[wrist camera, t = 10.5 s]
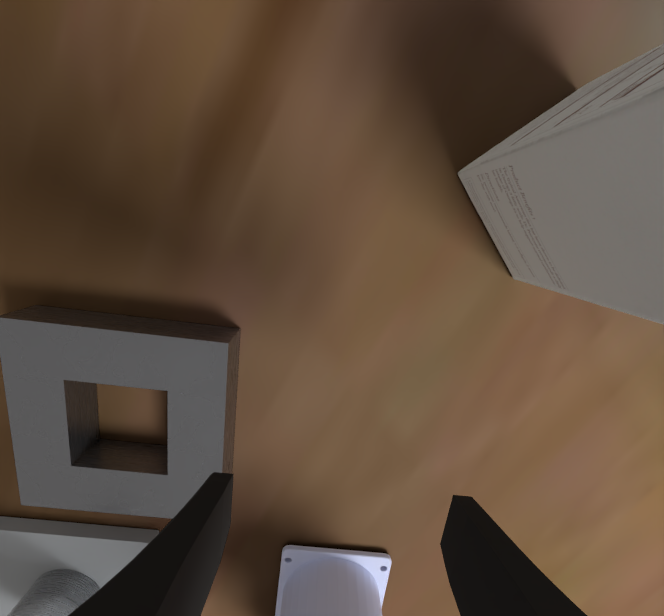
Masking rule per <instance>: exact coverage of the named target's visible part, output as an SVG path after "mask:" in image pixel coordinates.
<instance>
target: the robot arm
mask: <svg viewBox="0 0 664 616" xmlns="http://www.w3.org/2000/svg"><path fill="white" fill-rule="evenodd" d="M232 488H233V474H230V473H219V472H214V473H212V474H211V475H210V476H209V477H208V479H207V480H206V481H205V482H204V484H203V485H202V486H201V487H200V488H199V490H198V491H197V492H196V493H195V494H194V496H193V497H192V498H191V499H190V500H189V501H188V502H187V504H186V505H185V506H184V507H183V508H182V509H181V510H180V511H179V512H178V514H177V515H176V516H175V517H174V518H173V519H172V520H171V521H170V522H169V523H168V524H167V525H166V527H165V528H164V529H163V530H162V531H161V532H160V533H159V534H158V535H157V536H156V537H155V538H154V539H153V540H152V541H151V542H150V543H149V544H148V545H147V546H146V547H145V548H144V549H143V550H142V551H141V552H140V553H139V554H138V555H137V556H136V557H135V558H134V559H132V560H131V561H130V562H129V563H128V564H127V565H126V566H125V567H124V568H123V569H122V570H121V571H120V572H118V573H117V574H116V575H115V576H114V577H113V578H112V579H111V580H110V581H108V582H107V583H106V584H105V585H104V586H103V587H102V588H100V589H99V590H98V591H97V592H96V593H95V594H93V595H92V596H91V597H90V598H89V599H87V600H86V601H85V602H84V603H83V604H81V605H80V606H79V607H78V608H76V609H75V610H74V611H73V612H72V613H70V614H69V615H68V616H200V615H201V613H202V610H203V607H204V605H205V602H206V599H207V597H208V594H209V591H210V589H211V586H212V583H213V580H214V578H215V575H216V572H217V570H218V567H219V564H220V561H221V558H222V554H223V550H224V547H225V543H226V539H227V536H228V532H229V528H230V522H231V505H232ZM440 545H441V549H442V554H443V558H444V563H445V567H446V571H447V575H448V579H449V583H450V586H451V589H452V592H453V595H454V597H455V600H456V603H457V606H458V609H459V612H460V615H461V616H587V615H586V614H585V613H584V612H583V611H581V610H580V609H579V608H578V607H577V606H576V605H575V604H574V603H573V602H572V601H571V600H570V599H569V598H568V597H567V596H566V595H565V594H564V593H563V592H562V591H561V590H559V589H558V588H557V587H556V586H555V585H554V584H553V583H552V582H551V581H550V580H549V579H548V578H547V577H546V576H545V575H544V574H543V573H542V572H541V571H540V570H539V569H538V568H537V567H536V566H535V565H534V564H533V562H532V561H531V560H530V559H529V558H528V557H527V556H526V555H525V554H524V553H523V552H522V551H521V550H520V549H519V548H518V547H517V546H516V545H515V543H514V542H513V541H512V540H511V539H510V538H509V537H508V536H507V535H506V534H505V533H504V532H503V530H502V529H501V528H500V527H499V526H498V525H497V524H496V523H495V522H494V521H493V519H492V518H491V517H490V516H489V515H488V514H487V513H486V512H485V511H484V510H483V509H482V507H481V506H480V505H479V504H478V503H477V502H476V501H475V500H474V499H473V498H472V497H468V496H458V495H453V498H452V502H451V505H450V509H449V513H448V517H447V520H446V524H445V528H444V532H443V536H442V539H441V543H440ZM390 567H391V557H390V555H388V554H386V553H376V552H365V551H354V550H342V549H331V548H320V547H308V546H297V545H286V546H285V547H283V550H282V557H281V566H280V575H279V584H278V593H277V602H276V611H275V616H382V610H381V608H382V603H383V599H384V594H385V590H386V585H387V581H388V576H389V572H390Z"/></svg>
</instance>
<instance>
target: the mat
mask: <svg viewBox="0 0 664 616" xmlns="http://www.w3.org/2000/svg"><path fill="white" fill-rule="evenodd" d="M158 534H159V530H151V529H140V528H129V527H117V526H106V525H95V524H84V523H72V522H61V521H50V520H38V519H27V518H16V517H4V516H0V616H7V615H8V614H9V613H10V612H11V610H12V609H13V608H14V607H15V605H16V604H17V603H18V602H19V601H20V599H21V598H22V597H23V596H24V594H25V593H26V592H27V591H28V590H29V588H30V587H31V586H32V585H33V583H34V582H35V581H36V580H37V579H38V578H39V577H40V576H41V575H42V574H44V573H46V572H48V571H51V570H57V569H67V570H73V571H77V572H80V573H82V574H84V575H86V576H88V577H90V578H91V579H92V580H94V581H95V582H96V583H97V584H98V586H99V587H100V588H102V587H103V586H104V585H105V584H106V583H107V582H108V581H110V580H111V579H112V578H113V577H114V576H115V575H116V574H117V573H118V572H120V571H121V570H122V569H123V568H124V567H125V566H126V565H127V564H128V563H129V562H130V561H131V560H132V559H134V558H135V557H136V556H137V555H138V554H139V553H140V552H141V551H142V550H143V549H144V548H145V547H146V546H147V545H148V544H149V543H150V542H151V541H152V540H153V539H154V538H155V537H156V536H157V535H158Z"/></svg>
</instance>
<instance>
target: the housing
mask: <svg viewBox="0 0 664 616" xmlns="http://www.w3.org/2000/svg"><path fill="white" fill-rule="evenodd" d="M240 329H241V328H232V327H223V326H215V325H206V324H197V323H188V322H180V321H171V320H162V319H153V318H145V317H136V316H127V315H119V314H110V313H101V312H92V311H84V310H75V309H66V308H57V307H49V306H40V305H35V306H31V307H28V308H24V309H21V310H17V311H14V312H11V313H7V314H4V315H0V357H1V364H2V372H3V379H4V386H5V393H6V400H7V407H8V415H9V422H10V429H11V436H12V443H13V450H14V458H15V465H16V472H17V479H18V486H19V493H20V500H21V505H26V506H37V507H48V508H59V509H71V510H82V511H93V512H104V513H115V514H126V515H137V516H148V517H159V518H171V519H173V518H174V517H175V516H176V515H177V514H178V512H179V511H180V510H181V509H182V508H183V507H184V506H185V505H186V504H187V502H188V501H189V500H190V499H191V498H192V497H193V496H194V494H195V493H196V492H197V491H198V490H199V488H200V487H201V486H202V485H203V484H204V482H205V481H206V480H207V479H208V477H209V476H210V475H211V474H212V473H214V472H219V473H230V474H232V468H233V451H234V433H235V416H236V399H237V381H238V364H239V347H240ZM96 383H98V384H108V385H117V386H127V387H136V388H145V389H155V390H164V391H168V446H166V445H156V444H146V443H136V442H126V441H116V440H106V439H100V437H99V421H98V405H97V389H96Z"/></svg>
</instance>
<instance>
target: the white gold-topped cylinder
mask: <svg viewBox="0 0 664 616" xmlns="http://www.w3.org/2000/svg"><path fill="white" fill-rule="evenodd" d="M99 589H100V587H99V586H98V584H97V583H96V582H95V581H94V580H92V579H91V578H90V577H88V576H86V575H84V574H82V573H80V572H77V571H73V570H67V569H57V570H51V571H48V572H46V573H44V574H42V575H41V576H40V577H39V578H38V579H37V580H36V581H35V582H34V583H33V585H32V586H31V587H30V588H29V590H28V591H27V592H26V593H25V594H24V596H23V597H22V598H21V599H20V601H19V602H18V603H17V604H16V605H15V607H14V608H13V609H12V610H11V612H10V613H9V614H8V615H7V616H68V615H69V614H70V613H72V612H73V611H74V610H75V609H76V608H78V607H79V606H80V605H81V604H83V603H84V602H85V601H86V600H87V599H89V598H90V597H91V596H92V595H93V594H95V593H96V592H97V591H98V590H99Z"/></svg>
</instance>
